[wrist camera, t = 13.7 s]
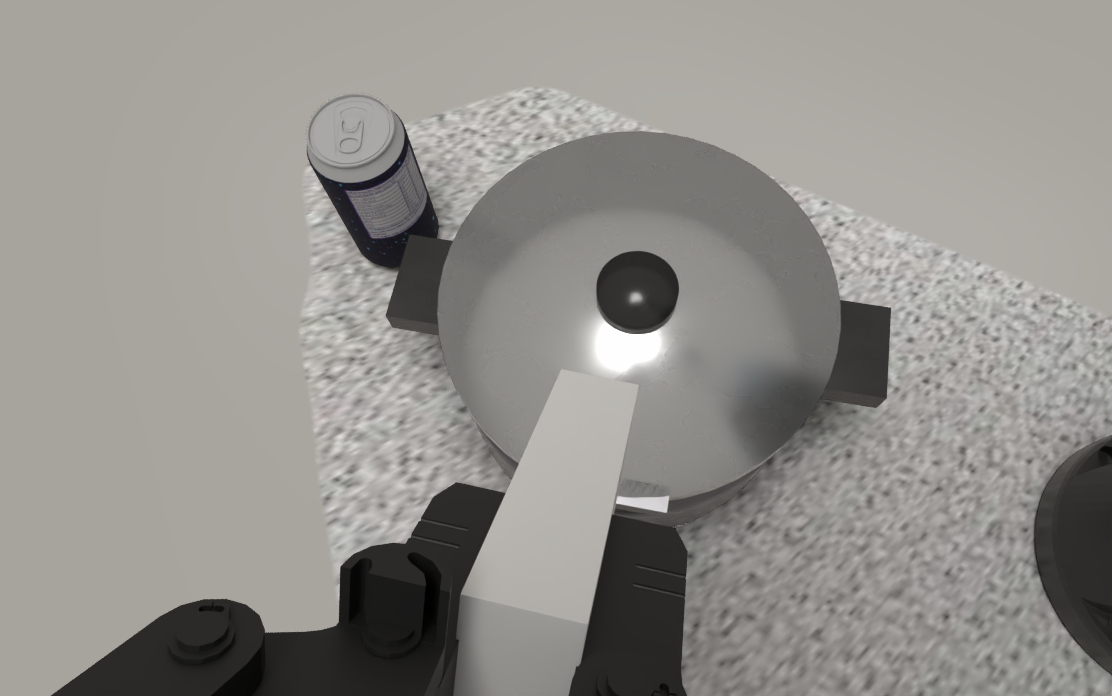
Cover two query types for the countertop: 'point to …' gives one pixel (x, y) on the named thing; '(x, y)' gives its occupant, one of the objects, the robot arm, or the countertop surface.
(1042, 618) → the countertop surface
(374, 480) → the countertop surface
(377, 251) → the beverage can
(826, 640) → the countertop surface
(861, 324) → the cooker pot
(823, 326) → the lid
